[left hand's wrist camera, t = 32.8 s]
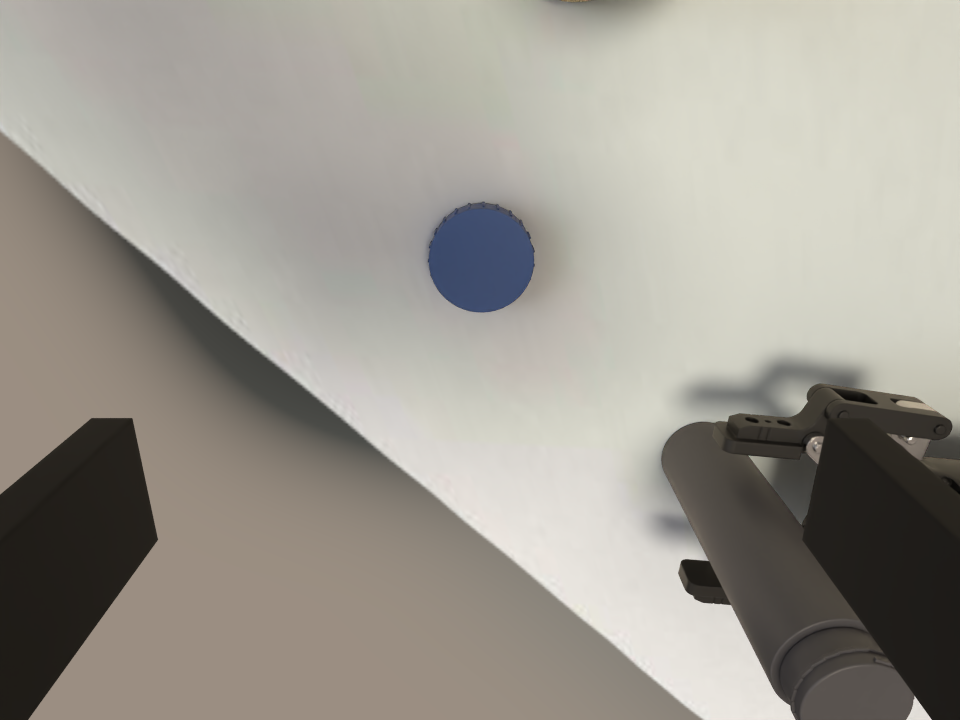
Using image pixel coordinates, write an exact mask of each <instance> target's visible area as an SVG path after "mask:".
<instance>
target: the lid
mask: <svg viewBox="0 0 960 720" xmlns="http://www.w3.org/2000/svg"><path fill="white" fill-rule="evenodd" d="M434 235H435V236H434V239H433V241H431V243H430V246H429V248H430V253H429V259H428V262H429V268H430V273H431V277H432V279H433V282H434V284H435V286H436V287H437V289H438V290H439V292H440V293H441V294H442V295H443V296H444V297H445V298H446V299H447V300H448V301H449V302H451V303H452V304H454V305H455V306H457V307H459V308H462V309H464V310H468V311H472V312H491V311H495V310H498V309H501V308H504V307H505V306H507V305H509V304H511V303H512V302H514V301H515V300H516V299H517V298H518V297H519V296H520V295H521V294H522V293H523V292H524V290H525V289H526V287H527V285H528V283H529V281H530V280H531V276H532V273H533V268H534V266H535V265H534V248H533V246H532V245H531V242H530V238H531V237H530V235H529V232H526V230H525V228H524V226H523V223H522V221H521V220H518V219H517V218H516V217H515V216H514V215H513V214H512V212H511V211H507V210H506V209H504V208H501V207H499V205H498V204H497V205H492V204H486V203H485V202H483V203H478V204H470V203H468V205H467V206H464V207H461V208H459V209H457V208H456V209H455V211H454V212H453V213H451V214H450V215H449V216H448V217H447V218H446V217H444V219H443V222H442V223H441V224H440V226H439V228H436V230H435V233H434Z"/></svg>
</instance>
